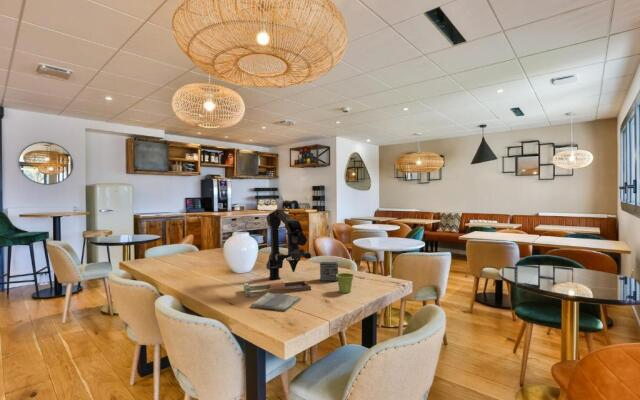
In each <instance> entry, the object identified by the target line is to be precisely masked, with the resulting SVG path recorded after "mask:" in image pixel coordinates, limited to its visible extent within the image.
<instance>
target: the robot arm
mask: <svg viewBox="0 0 640 400" xmlns="http://www.w3.org/2000/svg"><path fill="white" fill-rule="evenodd" d="M266 222H267V226H268V227H269V229H270V254H269V255H268V261H267V263H266V265H265V267H266V269H267V270H269V276H268V279H269V280H270V281H272V280H275V281H276V280H280V279H281V277H280V269H282V268H283V266H284V261H285V260H286V261H287V262H288V263H289V265H290V268H291V270H292V271H291V272H293V273H294V272H295V271H296V269H297V266H298V263H299V262H300V261H301V258H304V259H311V258H312V254H311V253H310V252H309V251H305V248H301V249H300V246H302V247H303V246H304V245H306V244H307V242H308V239H307V237H306V235H305V234H304V229H303V227H302V224H301V223H300V220H299V219H297V218H293V217H291V216H290V215H289V214H287V213H286V212H285V211H284V209H274V210H273V211H272V212H270V213H269V214H268V215H266ZM282 223H283V224H284V228H285V229H286V231H287V232H286V235H287V254H284V253H281V252H280V242H279V241H280V239H279V238H280V235H279V228H280V226H281V224H282Z"/></svg>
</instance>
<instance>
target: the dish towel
mask: <svg viewBox="0 0 640 400" xmlns="http://www.w3.org/2000/svg"><path fill="white" fill-rule="evenodd" d="M301 300H302V297H300V296H298V295H290V294H285V293H280V294H279V293H276V294H273V293H269V292H267V293H266V294H265V295H263V296H260V298H258V299H257V300H255V301H254V302H253V303H251V305H250V308H252V309H259V310H269V311H275V312H283V313H285V312H287V311H288V310H289V309H291V308H293V307H294V306H295V305H296V304H298V303H299V302H300V301H301Z"/></svg>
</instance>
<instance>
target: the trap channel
mask: <svg viewBox="0 0 640 400" xmlns="http://www.w3.org/2000/svg"><path fill="white" fill-rule="evenodd" d="M284 284H285V289H277V290H270V283H269V284H259V285H249V283H248V282H244V283H243V292H244V295H245V298H252V297H254V298H255V297H259V296H260V297H262V296H264V295H265V294H266V293H267V292H269V293H273V294H276V293H279V294H286V293H296V292H305V291H306V292H307V291H312V286H311V285H310V284H309V283H308V282H307V281H306V280H300V281H288V282H284ZM268 289H269V290H268ZM258 290H259V291H258Z"/></svg>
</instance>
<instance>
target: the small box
mask: <svg viewBox="0 0 640 400" xmlns="http://www.w3.org/2000/svg"><path fill="white" fill-rule="evenodd" d="M319 269H320V270H319V275H320V277H319V278H320V279H319V280H320V281H321V283H322V282H326V283H327V282H335V283H336V282H337V283H338V279H337V276H336V275H337V274H339V262H338V261H331V262H330V261H323V262H322V261H321V262H320V263H319ZM320 281H319V282H320Z"/></svg>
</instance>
